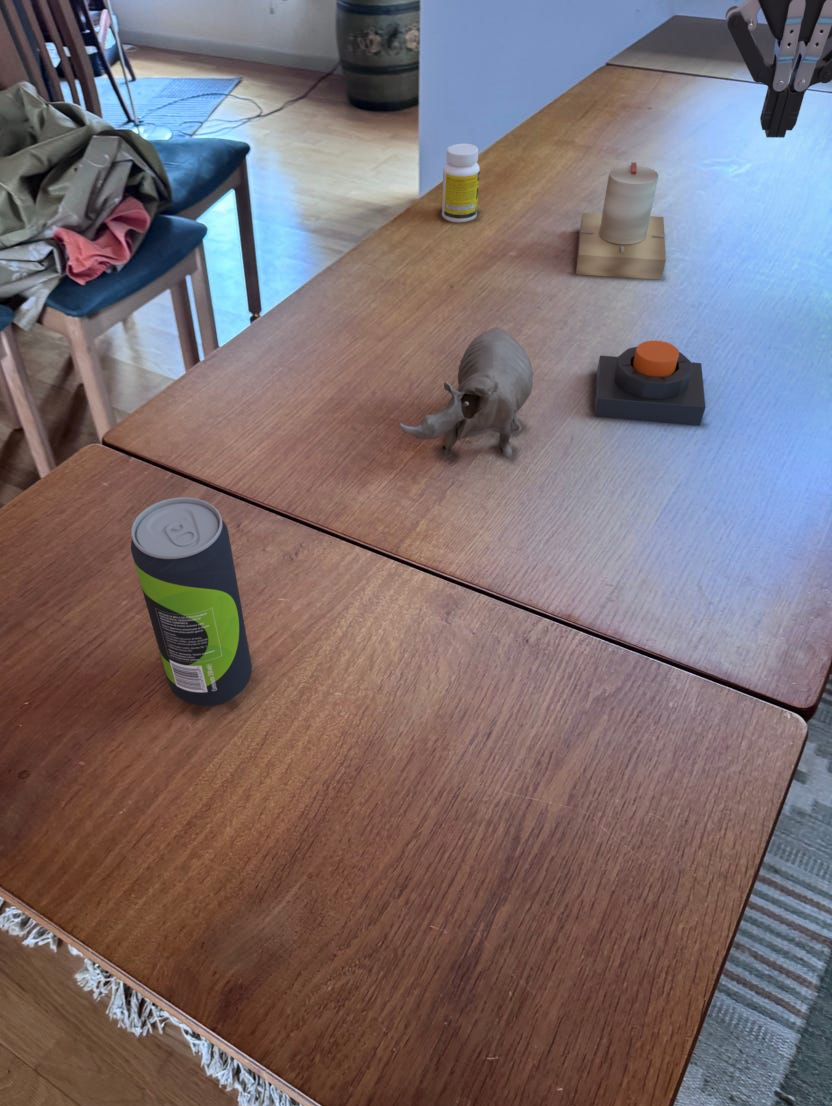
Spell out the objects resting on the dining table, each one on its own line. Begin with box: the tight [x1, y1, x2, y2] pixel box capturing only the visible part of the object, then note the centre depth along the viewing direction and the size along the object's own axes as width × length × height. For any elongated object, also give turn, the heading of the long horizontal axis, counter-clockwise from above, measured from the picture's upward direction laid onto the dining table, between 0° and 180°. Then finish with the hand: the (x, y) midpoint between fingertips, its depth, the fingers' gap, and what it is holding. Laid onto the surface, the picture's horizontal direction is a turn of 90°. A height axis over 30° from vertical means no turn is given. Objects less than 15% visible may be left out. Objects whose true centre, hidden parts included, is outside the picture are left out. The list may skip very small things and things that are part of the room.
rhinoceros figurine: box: [398, 327, 534, 459], centre depth 84 cm, size 8×14×15 cm
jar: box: [599, 162, 659, 245], centre depth 108 cm, size 6×6×7 cm
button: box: [633, 340, 680, 377], centre depth 88 cm, size 4×4×2 cm
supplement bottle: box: [441, 143, 481, 224], centre depth 119 cm, size 5×5×8 cm
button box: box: [594, 346, 706, 427], centre depth 89 cm, size 10×8×4 cm
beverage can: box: [130, 496, 253, 707], centre depth 62 cm, size 6×6×15 cm
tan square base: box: [575, 212, 667, 280], centre depth 111 cm, size 10×12×3 cm
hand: (774, 134), depth 80 cm, fingers closed
